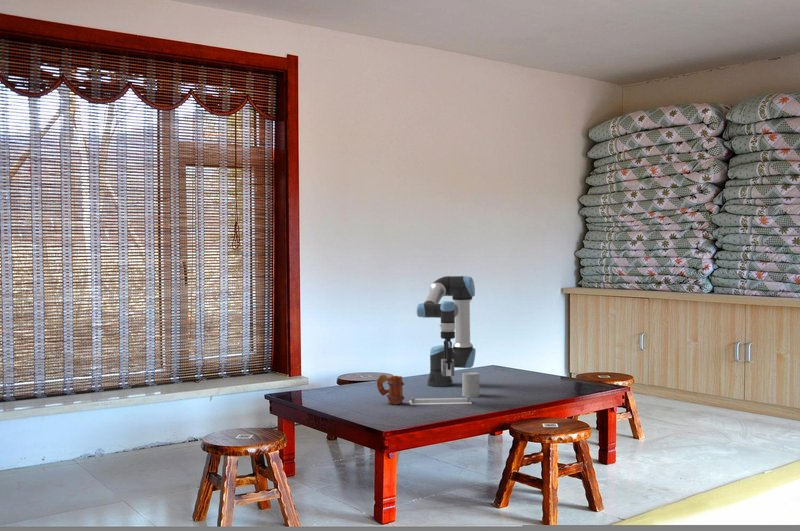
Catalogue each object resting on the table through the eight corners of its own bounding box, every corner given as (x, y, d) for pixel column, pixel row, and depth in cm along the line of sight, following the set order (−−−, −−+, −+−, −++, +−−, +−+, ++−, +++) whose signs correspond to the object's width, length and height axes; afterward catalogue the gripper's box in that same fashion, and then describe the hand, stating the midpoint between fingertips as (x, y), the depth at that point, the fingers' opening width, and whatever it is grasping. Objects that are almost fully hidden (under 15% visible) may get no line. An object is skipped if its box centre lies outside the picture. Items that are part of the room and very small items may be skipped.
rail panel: (409, 401, 410) (409, 396, 410) (469, 400, 412) (469, 395, 412) (410, 404, 401) (410, 399, 401) (472, 403, 403) (472, 398, 403)
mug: (406, 402, 407) (406, 374, 406) (402, 405, 399) (402, 376, 399) (380, 401, 411) (379, 372, 411) (375, 404, 403) (375, 375, 403)
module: (441, 374, 409) (441, 358, 409) (452, 373, 410) (452, 358, 410) (442, 376, 402) (442, 360, 402) (454, 376, 403) (454, 360, 403)
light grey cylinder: (475, 393, 432) (475, 371, 432) (482, 396, 423) (482, 374, 423) (459, 394, 429) (459, 372, 429) (466, 397, 420) (466, 375, 420)
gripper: (438, 328, 415) (438, 371, 416) (442, 333, 395) (443, 377, 396) (452, 328, 416) (452, 371, 416) (457, 332, 396) (457, 377, 396)
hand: (447, 374), depth 406 cm, fingers closed on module, 7 cm apart
